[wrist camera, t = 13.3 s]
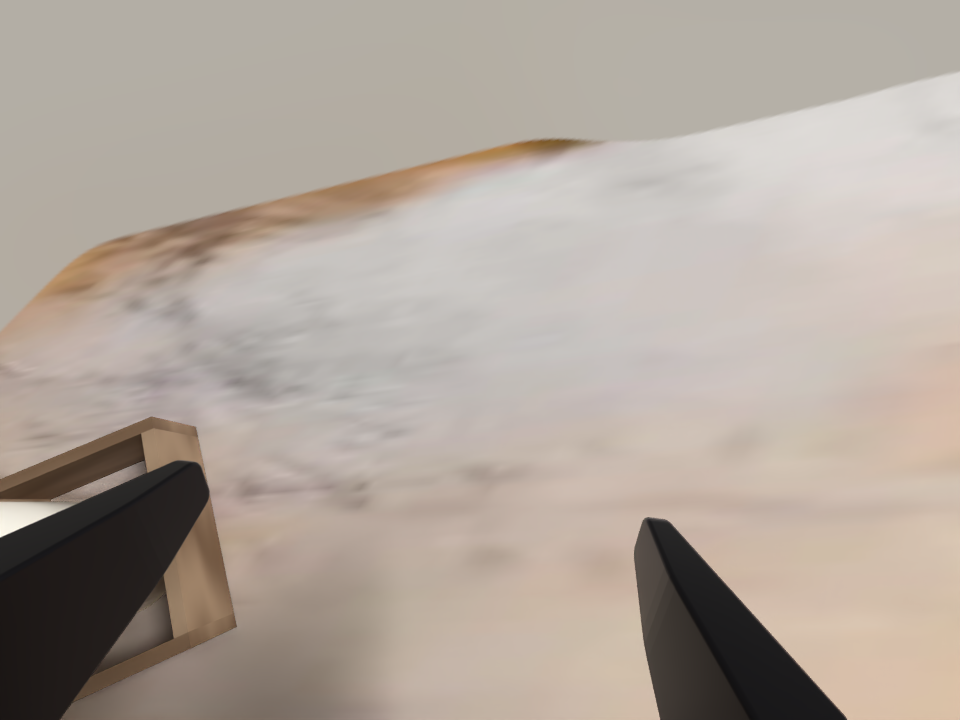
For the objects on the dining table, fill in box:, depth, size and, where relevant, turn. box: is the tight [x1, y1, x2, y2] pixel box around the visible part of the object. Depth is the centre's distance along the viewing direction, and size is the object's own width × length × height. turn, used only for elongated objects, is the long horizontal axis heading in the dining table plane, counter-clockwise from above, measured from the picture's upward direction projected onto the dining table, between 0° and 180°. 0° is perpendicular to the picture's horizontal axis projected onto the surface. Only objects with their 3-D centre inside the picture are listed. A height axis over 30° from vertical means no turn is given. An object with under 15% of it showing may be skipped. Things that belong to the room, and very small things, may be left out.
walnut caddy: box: [0, 417, 237, 702], centre depth 19 cm, size 10×18×3 cm, turn 113°
